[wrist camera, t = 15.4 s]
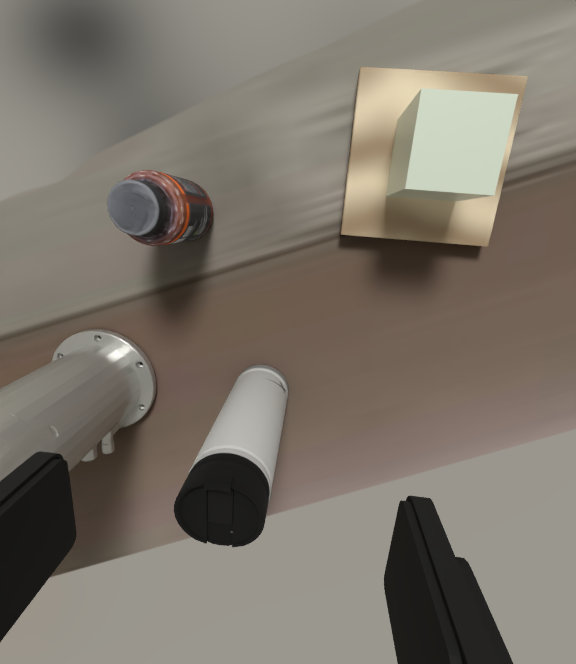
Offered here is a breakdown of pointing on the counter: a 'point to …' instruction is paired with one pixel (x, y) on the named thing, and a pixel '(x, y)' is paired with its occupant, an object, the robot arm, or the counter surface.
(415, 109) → the pale green block
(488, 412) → the counter surface
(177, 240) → the supplement bottle
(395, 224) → the post board
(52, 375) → the robot arm
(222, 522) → the travel mug
